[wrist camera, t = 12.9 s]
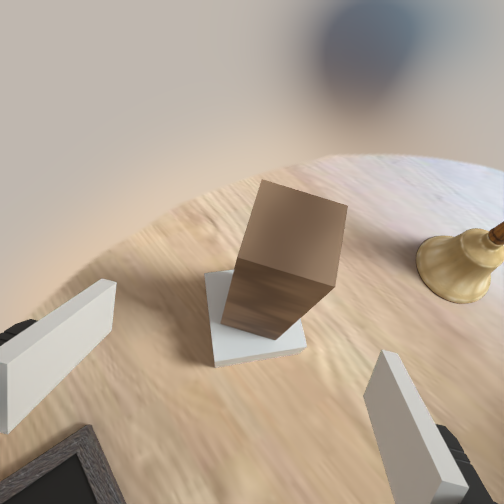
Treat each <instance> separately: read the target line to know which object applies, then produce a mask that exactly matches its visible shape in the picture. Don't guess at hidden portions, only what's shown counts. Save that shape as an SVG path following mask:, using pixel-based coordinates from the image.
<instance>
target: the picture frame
mask: <svg viewBox="0 0 504 504" xmlns="http://www.w3.org/2000/svg"><path fill="white" fill-rule="evenodd" d="M0 504H126V502H125V500H124V497H123V495H122V493H121V491H120V488H119V486H118V484H117V482H116V479H115V477H114V475H113V473H112V470H111V468H110V466H109V464H108V461H107V459H106V457H105V455H104V452H103V450H102V448H101V446H100V443H99V441H98V439H97V437H96V434H95V432H94V430H93V428H92V426H91V425H86V426H84V427H83V428H81V429H80V430H78V431H77V432H75V433H74V434H72V435H71V436H69V437H68V438H66V439H65V440H63V441H62V442H60V443H59V444H57V445H56V446H54V447H53V448H51V449H50V450H48V451H47V452H45V453H44V454H42V455H41V456H39V457H37V458H36V459H34V460H33V461H31V462H30V463H28V464H27V465H25V466H24V467H22V468H21V469H19V470H18V471H16V472H15V473H13V474H12V475H10V476H9V477H7V478H6V479H4V480H3V481H1V482H0Z"/></svg>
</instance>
